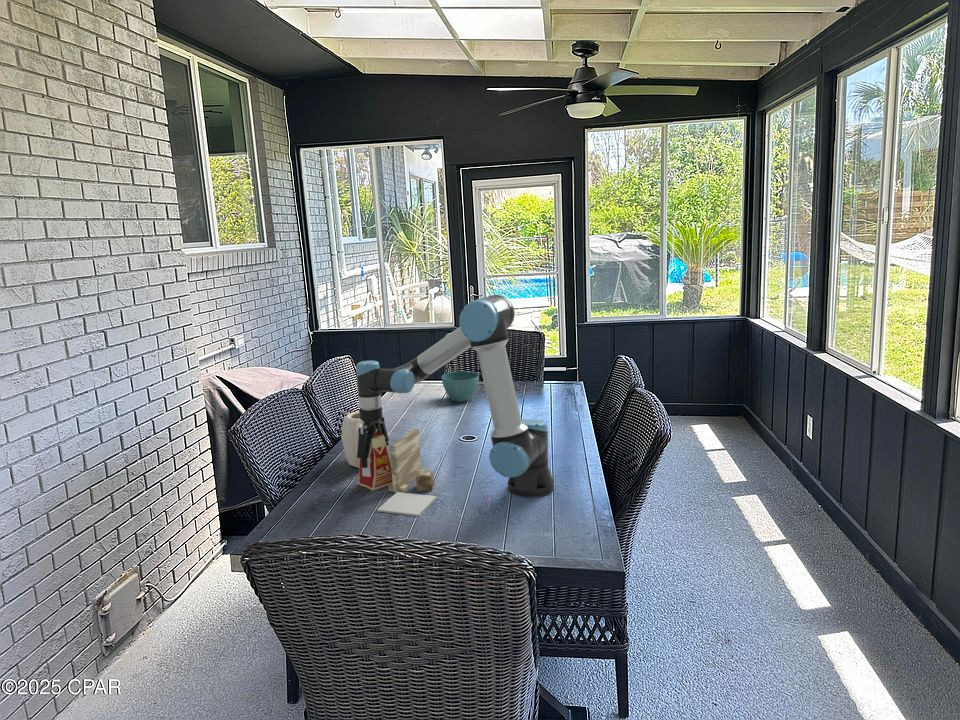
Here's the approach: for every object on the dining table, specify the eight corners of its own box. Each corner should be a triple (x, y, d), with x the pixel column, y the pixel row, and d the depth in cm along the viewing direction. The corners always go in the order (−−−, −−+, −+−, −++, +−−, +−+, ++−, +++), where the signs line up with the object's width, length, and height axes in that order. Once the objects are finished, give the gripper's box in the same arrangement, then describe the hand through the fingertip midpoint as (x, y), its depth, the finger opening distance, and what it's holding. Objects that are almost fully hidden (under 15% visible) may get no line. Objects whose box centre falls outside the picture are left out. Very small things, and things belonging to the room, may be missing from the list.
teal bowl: (479, 404, 322) (478, 379, 319) (441, 405, 322) (440, 380, 320) (479, 394, 340) (479, 370, 337) (444, 395, 340) (442, 372, 338)
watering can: (391, 449, 262) (388, 402, 259) (382, 474, 236) (378, 423, 233) (351, 450, 262) (348, 404, 259) (338, 476, 236) (334, 424, 232)
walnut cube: (434, 485, 225) (433, 470, 224) (432, 490, 220) (431, 476, 219) (419, 485, 226) (418, 470, 225) (417, 491, 221) (416, 476, 220)
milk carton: (395, 482, 228) (391, 426, 224) (373, 491, 222) (369, 433, 218) (378, 476, 234) (374, 421, 230) (356, 484, 228) (352, 428, 224)
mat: (436, 498, 214) (436, 496, 214) (418, 516, 201) (418, 514, 201) (397, 493, 219) (397, 492, 219) (377, 511, 206) (377, 509, 206)
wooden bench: (426, 473, 236) (423, 429, 233) (404, 493, 219) (401, 446, 216) (410, 471, 238) (408, 428, 235) (387, 491, 221) (384, 445, 218)
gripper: (376, 397, 235) (381, 457, 239) (342, 416, 213) (347, 481, 218) (396, 398, 232) (400, 459, 237) (363, 417, 211) (368, 483, 215)
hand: (375, 469), depth 227 cm, fingers open, 11 cm apart
